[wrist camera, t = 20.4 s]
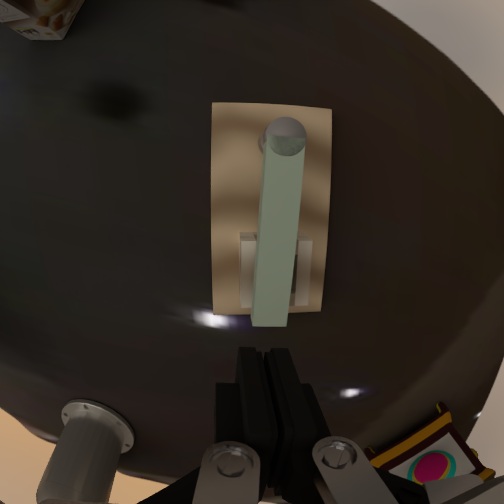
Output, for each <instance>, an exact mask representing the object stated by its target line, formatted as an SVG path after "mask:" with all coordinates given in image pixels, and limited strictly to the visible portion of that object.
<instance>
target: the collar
mask: <svg viewBox="0 0 504 504" xmlns="http://www.w3.org/2000/svg"><path fill="white" fill-rule="evenodd" d="M312 242H313V241H312V240H311V239H310V238H309V237H308V236H307V235H305V234H304V233H303V232H297V241H296V250H295V259H294V268H293V277H292V285H291V293H290V301H289V306H304V305H308V296H309V284H310V271H311V257H312ZM256 243H257V232H239V295H240V302H241V308H252V295H253V282H254V269H255V256H256Z"/></svg>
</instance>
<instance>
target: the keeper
mask: <svg viewBox="0 0 504 504" xmlns="http://www.w3.org/2000/svg"><path fill="white" fill-rule="evenodd" d="M263 141H264V150H263V163H262V177H261V190H260V203H259V217H258V230H257V243H256V256H255V269H254V282H253V295H252V308H251V321H252V326H286V324H287V317H288V309H289V301H290V293H291V285H292V277H293V268H294V259H295V250H296V241H297V231H298V221H299V211H300V201H301V189H302V178H303V166H304V153H305V144H306V141H307V134H306V131H305V128H304V126H303V125H302V124H301V123H300V122H299V121H298V120H296V119H294V118H291V117H280V118H277V119H275V120H274V121H273V122H272V123H270V124H269V125H268V126H267V128H266V129H265V131H264V135H263Z"/></svg>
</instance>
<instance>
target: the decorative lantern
mask: <svg viewBox="0 0 504 504" xmlns="http://www.w3.org/2000/svg"><path fill="white" fill-rule="evenodd" d="M436 407H437V409H438V411H439V415H438V416H436V417H435V418H433V419H432V420H431V421H429V422H428V423H426V424H425V425H423V426H422V427H420V428H419V429H417V430H416V431H414V432H413V433H411V434H409V435H408V436H406V437H405V438H403V439H401V440H400V441H398V442H396V443H395V444H393V445H391V446H389V447H388V448H386V449H384V450H382V451H381V452H378V453H375V452H373V450H372V449H371V448H370V447H366V448H365V455H366V457H367V459H368V460H369V462H370V463H371V465H372V466H375V467H377V468H379V469H382V470H384V471H387V472H389V473H392V474H395V475H397V476H400V477H403V478H405V479H408V480H411V481H414V482H416V483H418V484H420V485H422V484H423V483H424V482H427V481H433V480H439V479H445V478H450V477H456V476H460V475H465V474H474V475H477V476H479V477H480V478H481V479H482V480H483V482H486V481H489V480H491V479H494V476H495V474H496V472H495V471H494V470H493V469H489V468H486V467H485V466H483V465H482V463H481V462H480V461H479V459H478V453H477V452H476V451H475V450H474V449H471V448H469V446H468V445H467V444H466V442H465V441H464V440H463V438H462V437H461V436H460V435H459V433H458V432H457V431H456V429H455V428H454V427H453V425H452V419H451V414H450V411H449V409H448V408H447V407H446V405H445V404H444V403H442V402H438V403H437V405H436Z"/></svg>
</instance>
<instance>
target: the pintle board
mask: <svg viewBox="0 0 504 504" xmlns="http://www.w3.org/2000/svg"><path fill="white" fill-rule="evenodd" d="M280 117H291V118H294V119H296V120H298V121H299V122H300V123H301V124H302V125H303V126H304V128H305V131H306V134H307V141H306V144H305V153H304V166H303V178H302V189H301V201H300V211H299V221H298V231H297V232H303V233H304V234H305V235H307V236H308V237H309V238H310V239H311V240H312V241H313V242H312V257H311V271H310V284H309V296H308V305H304V306H289V309H288V313H294V312H313V311H321V302H322V293H323V283H324V273H325V261H326V249H327V236H328V221H329V204H330V182H331V147H332V110H331V109H323V108H314V107H304V106H292V105H277V104H258V103H212V139H211V243H212V286H213V315H231V314H251V308H241V302H240V295H239V232H257V230H258V217H259V203H260V190H261V177H262V163H263V150H264V141H263V135H264V131H265V129H266V128H267V126H268V125H269V124H270V123H272V122H273V121H274V120H275V119H277V118H280Z"/></svg>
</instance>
